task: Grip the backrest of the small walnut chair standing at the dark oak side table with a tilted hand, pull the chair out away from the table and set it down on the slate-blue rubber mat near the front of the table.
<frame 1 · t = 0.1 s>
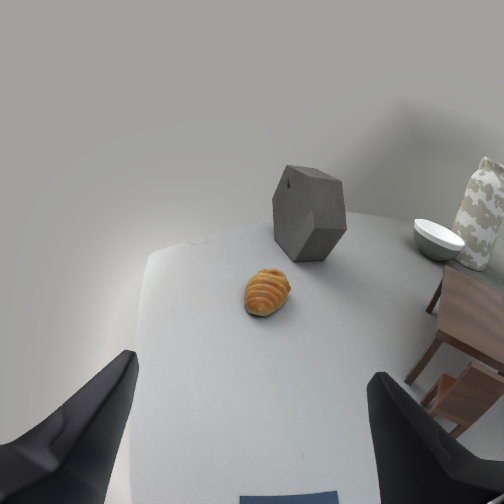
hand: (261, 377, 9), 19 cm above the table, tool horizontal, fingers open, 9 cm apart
bowl: (431, 255, 75), on the table
side table: (447, 354, 36), on the table
chair: (433, 422, 24), on the table
grey hexagonal prism: (297, 249, 63), on the table
pastry: (266, 300, 44), on the table
vase: (463, 258, 79), on the table
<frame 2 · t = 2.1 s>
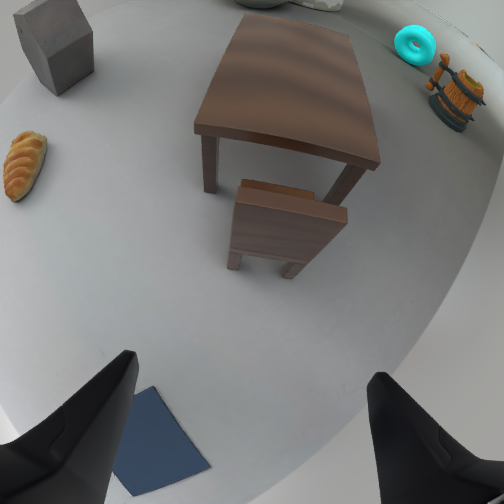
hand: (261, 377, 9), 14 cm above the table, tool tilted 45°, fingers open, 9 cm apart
bowl: (256, 4, 48), on the table
side table: (278, 123, 32), on the table
mat: (141, 446, 19), on the table
chair: (264, 243, 26), on the table
grey hexagonal prism: (65, 76, 33), on the table
pastry: (29, 168, 26), on the table
vase: (308, 0, 54), on the table
donuts: (408, 58, 47), on the table
mug: (441, 110, 41), on the table
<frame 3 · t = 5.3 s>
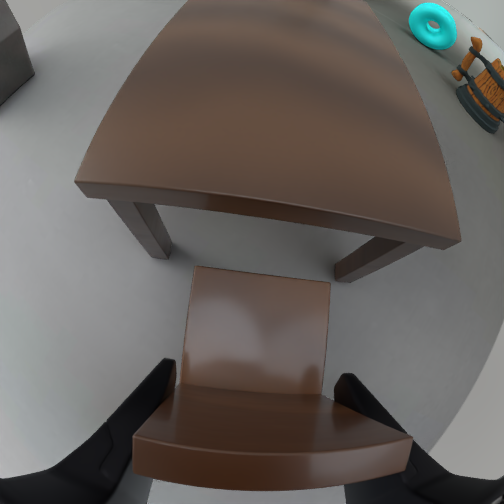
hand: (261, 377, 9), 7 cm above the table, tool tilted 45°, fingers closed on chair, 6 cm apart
side table: (268, 130, 21), on the table
chair: (246, 341, 16), on the table, touching gripper
grey hexagonal prism: (6, 85, 21), on the table
donuts: (424, 41, 36), on the table
mug: (470, 104, 30), on the table
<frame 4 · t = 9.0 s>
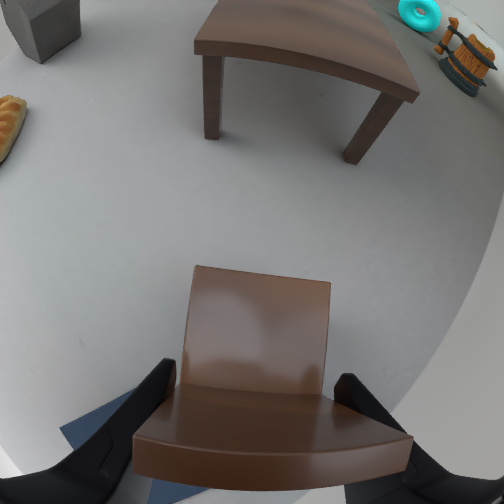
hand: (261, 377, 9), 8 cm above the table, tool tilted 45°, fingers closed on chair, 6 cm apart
side table: (287, 71, 25), on the table
mat: (135, 459, 14), on the table
chair: (246, 341, 16), point 1 cm above the table, touching gripper
grey hexagonal prism: (50, 45, 26), on the table
pastry: (6, 136, 20), on the table
donuts: (412, 25, 40), on the table
mug: (451, 74, 34), on the table
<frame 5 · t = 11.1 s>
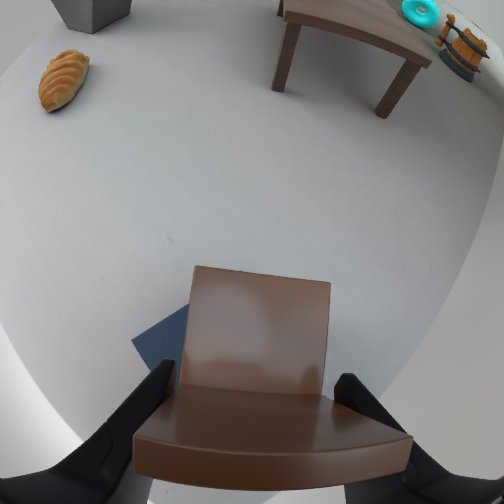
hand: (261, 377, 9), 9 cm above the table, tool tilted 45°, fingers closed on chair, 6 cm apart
side table: (323, 51, 29), on the table
mat: (222, 362, 17), on the table
chair: (246, 342, 16), point 2 cm above the table, touching gripper
grey hexagonal prism: (95, 21, 29), on the table
pastry: (67, 86, 24), on the table
donuts: (414, 22, 44), on the table
mug: (450, 63, 38), on the table
when the fingers open (7 cm above the table, at t = 12.5 s): chair stays where it is, resting on mat.
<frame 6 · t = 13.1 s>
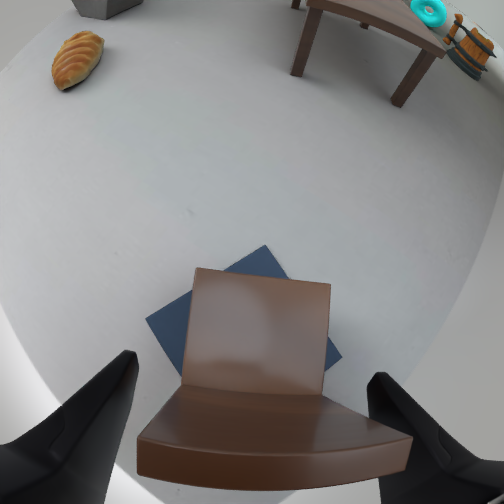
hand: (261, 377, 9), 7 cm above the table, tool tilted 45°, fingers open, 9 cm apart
side table: (338, 42, 28), on the table
mat: (245, 342, 16), on the table
chair: (246, 343, 16), resting on mat
grey hexagonal prism: (108, 9, 29), on the table
pastry: (81, 67, 23), on the table
donuts: (422, 21, 43), on the table
mug: (458, 61, 37), on the table
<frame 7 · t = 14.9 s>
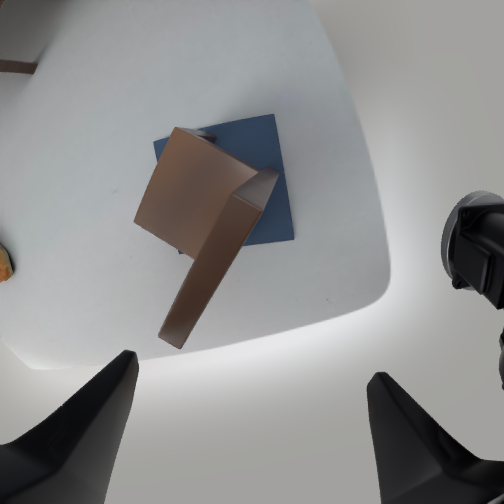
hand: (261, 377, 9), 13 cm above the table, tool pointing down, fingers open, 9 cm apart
side table: (18, 18, 14), on the table
mat: (222, 187, 20), on the table
chair: (221, 187, 19), resting on mat
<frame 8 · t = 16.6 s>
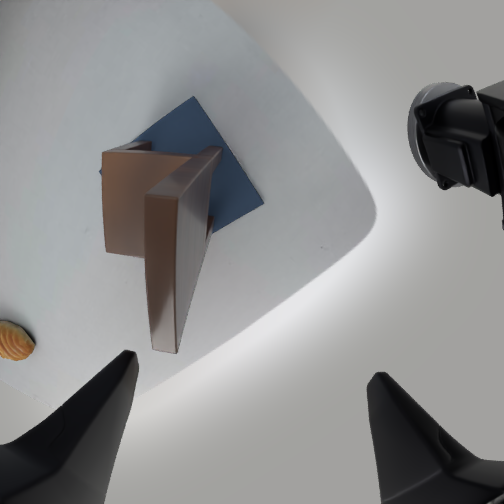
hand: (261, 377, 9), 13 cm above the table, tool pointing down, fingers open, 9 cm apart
mat: (176, 184, 19), on the table
chair: (175, 184, 19), resting on mat
pastry: (14, 333, 28), on the table
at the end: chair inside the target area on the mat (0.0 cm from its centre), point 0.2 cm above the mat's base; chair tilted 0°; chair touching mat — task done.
